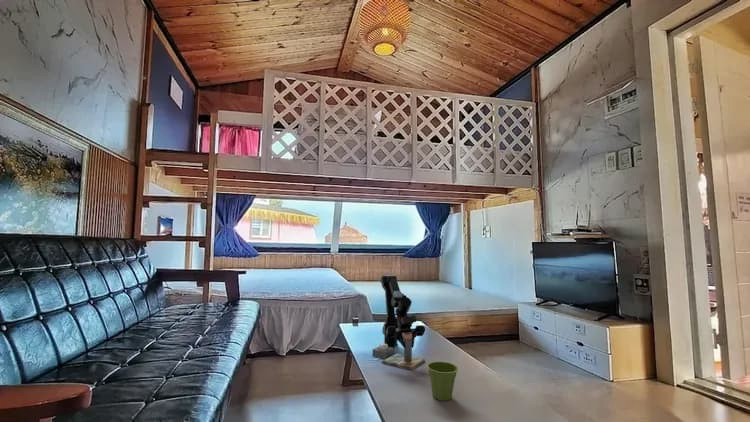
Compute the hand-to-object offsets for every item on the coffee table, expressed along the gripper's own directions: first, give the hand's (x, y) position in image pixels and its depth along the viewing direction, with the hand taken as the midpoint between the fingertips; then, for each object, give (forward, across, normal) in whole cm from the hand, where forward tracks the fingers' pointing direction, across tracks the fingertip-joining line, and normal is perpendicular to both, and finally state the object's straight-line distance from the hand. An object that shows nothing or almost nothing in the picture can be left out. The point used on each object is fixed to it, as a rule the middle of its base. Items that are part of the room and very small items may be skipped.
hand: (408, 347), depth 170 cm
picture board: (+2, 0, +11) cm, 11 cm away
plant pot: (+29, +4, -16) cm, 34 cm away
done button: (-9, -8, +19) cm, 22 cm away
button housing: (-7, -8, +20) cm, 23 cm away
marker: (+4, 0, +6) cm, 7 cm away
